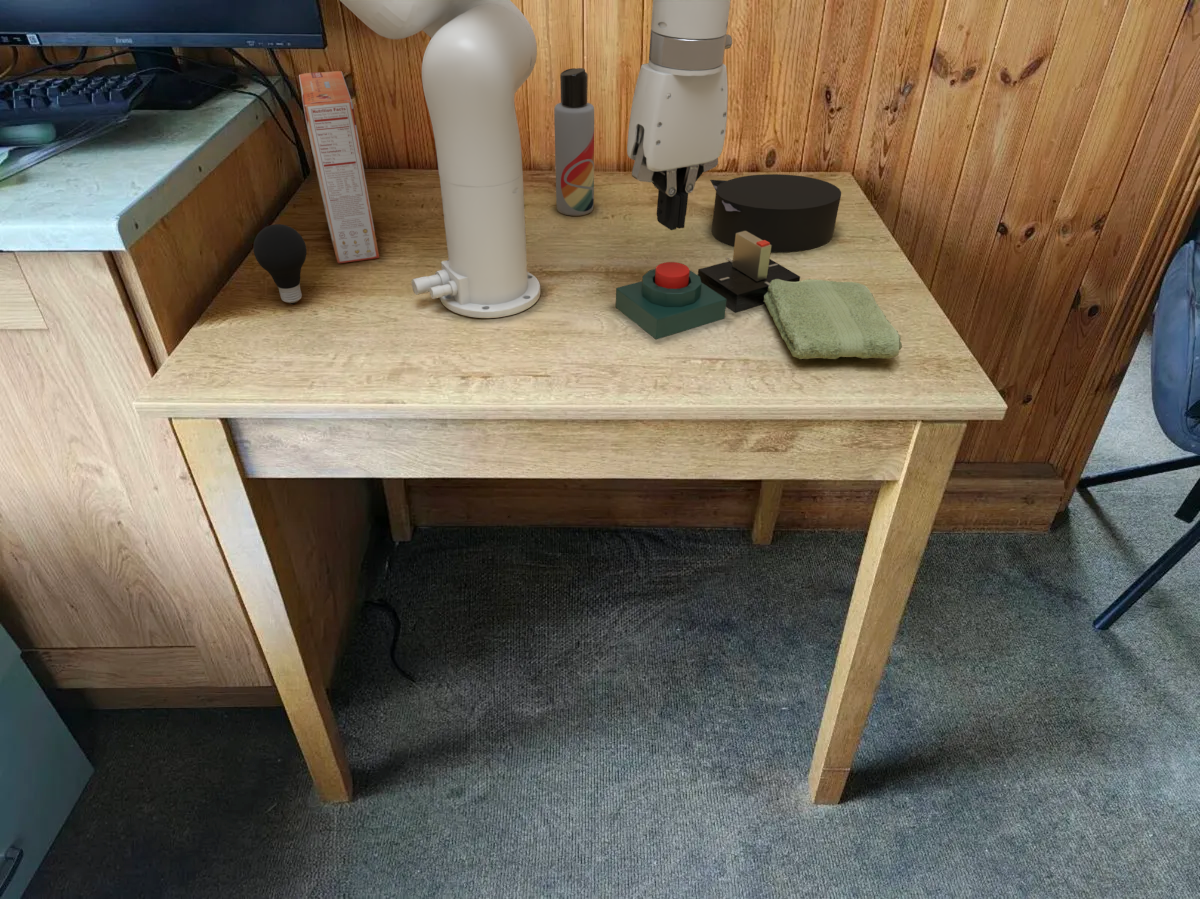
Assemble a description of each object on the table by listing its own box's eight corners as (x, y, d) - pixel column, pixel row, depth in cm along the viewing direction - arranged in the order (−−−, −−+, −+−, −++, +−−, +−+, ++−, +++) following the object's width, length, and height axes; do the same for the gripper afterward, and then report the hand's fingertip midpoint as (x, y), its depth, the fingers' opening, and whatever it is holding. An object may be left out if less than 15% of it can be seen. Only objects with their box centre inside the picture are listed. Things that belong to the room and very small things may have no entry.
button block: (656, 340, 97) (658, 305, 95) (615, 307, 103) (616, 274, 101) (724, 319, 101) (728, 285, 99) (681, 289, 108) (684, 256, 105)
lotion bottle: (593, 217, 125) (594, 75, 113) (555, 216, 126) (551, 74, 113) (594, 202, 130) (595, 64, 118) (557, 201, 130) (554, 63, 118)
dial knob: (731, 266, 107) (735, 231, 104) (741, 263, 108) (745, 228, 105) (756, 281, 104) (761, 245, 101) (766, 278, 104) (772, 243, 102)
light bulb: (267, 317, 100) (246, 239, 94) (269, 295, 105) (249, 218, 99) (318, 311, 102) (300, 233, 96) (317, 290, 106) (301, 214, 100)
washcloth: (862, 294, 106) (866, 270, 104) (905, 364, 91) (911, 338, 89) (758, 296, 106) (761, 272, 104) (785, 366, 91) (789, 340, 89)
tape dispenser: (843, 258, 118) (857, 206, 113) (718, 252, 116) (727, 199, 111) (814, 220, 129) (826, 171, 125) (700, 214, 127) (707, 165, 123)
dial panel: (738, 315, 102) (740, 295, 101) (693, 285, 108) (695, 266, 107) (800, 296, 106) (803, 277, 105) (754, 268, 112) (756, 249, 111)
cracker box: (327, 225, 122) (296, 72, 109) (369, 220, 124) (344, 68, 111) (334, 265, 112) (301, 101, 99) (380, 260, 113) (354, 97, 100)
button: (667, 293, 98) (668, 279, 97) (648, 279, 100) (649, 266, 99) (695, 285, 99) (696, 272, 98) (675, 272, 102) (676, 259, 101)
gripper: (723, 36, 90) (703, 202, 101) (603, 49, 84) (597, 224, 95) (768, 53, 85) (742, 225, 96) (645, 67, 79) (632, 250, 90)
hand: (670, 224), depth 96 cm, fingers closed
